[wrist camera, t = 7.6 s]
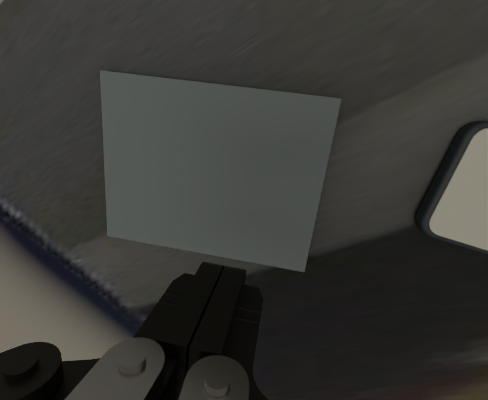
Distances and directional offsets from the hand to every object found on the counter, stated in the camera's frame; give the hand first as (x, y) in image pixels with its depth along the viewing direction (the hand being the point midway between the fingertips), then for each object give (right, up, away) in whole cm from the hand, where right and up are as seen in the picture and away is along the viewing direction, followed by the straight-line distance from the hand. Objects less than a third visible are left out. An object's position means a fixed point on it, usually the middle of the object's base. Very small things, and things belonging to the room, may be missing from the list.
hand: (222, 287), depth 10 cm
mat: (-2, +5, +14) cm, 15 cm away
